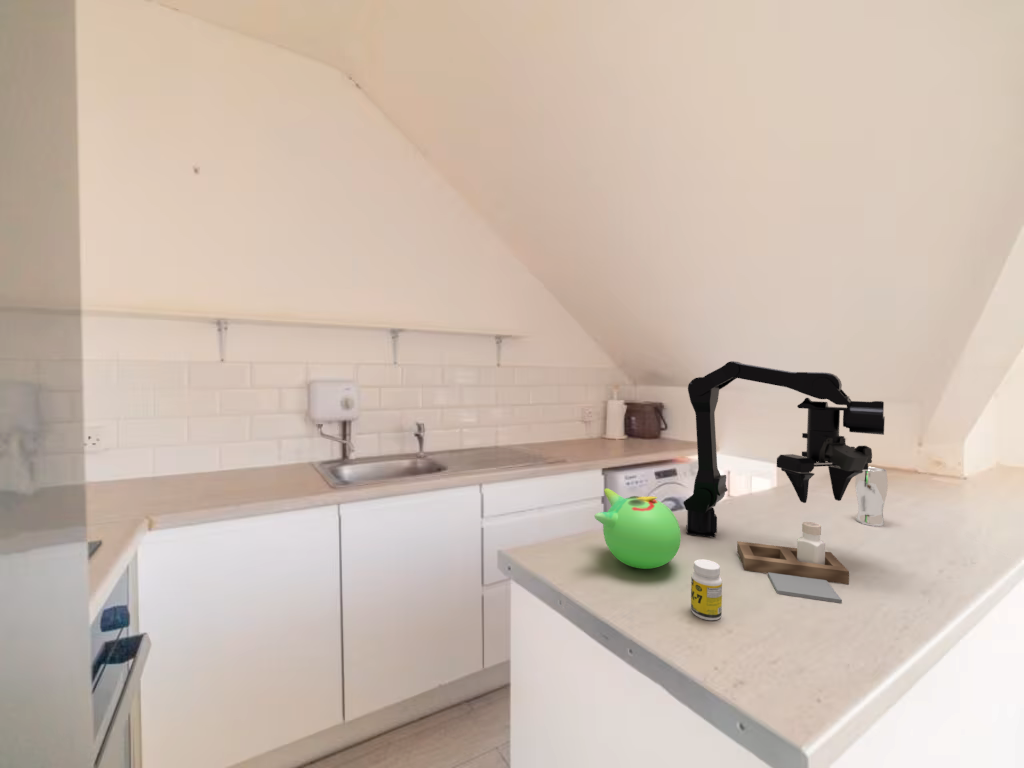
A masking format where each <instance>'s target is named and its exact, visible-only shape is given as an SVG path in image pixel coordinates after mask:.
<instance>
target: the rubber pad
mask: <svg viewBox="0 0 1024 768" xmlns="http://www.w3.org/2000/svg"><path fill="white" fill-rule="evenodd" d="M767 577H768V578H769V581H770V582H771V584H772V586H773V588H774V590H775V592H776V593H777V595H778V594H779V595H783V596H789V597H790V596H791V597H797V598H804V599H811V600H819V601H825V602H830V603H831V602H832V603H839V604H842V603H843V599H842V598H841V596H839V594H838V593H837V592H836V591H835V589H834V588H833V587H832V586H831V584H830V582H828V581H827V580H821V579H813V578H806V577H799V576H791V575H784V574H777V573H769V572H768V573H767Z"/></svg>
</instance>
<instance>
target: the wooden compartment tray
mask: <svg viewBox="0 0 1024 768" xmlns="http://www.w3.org/2000/svg"><path fill="white" fill-rule="evenodd" d="M736 543H737V549H736V553H737V555H738V557H739V561H740V562H741V565H742V567H743V570H744V571H747V572H748V571H749V572H756V573H761V574H762V573H763V574H768V572H769V573H777V574H784V575H791V576H799V577H806V578H813V579H821V580H827V582H828V583H837V584H843V585H849V584H850V571H849V570H848V568H847V567H846V566H845V565H844V564H843V563H842V562H841V561H840V560H839V559H838V558H837V557H836V556H835V555H834V554H833V553H832V552H831V551H825V565H823V564H815V563H807V562H799V561H798V560H797V547H791V546H790V547H789V546H788V547H787V546H780V545H773V544H763V543H756V542H755V543H754V542H746V541H739V540H738V541H737V542H736Z"/></svg>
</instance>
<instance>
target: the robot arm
mask: <svg viewBox="0 0 1024 768" xmlns="http://www.w3.org/2000/svg"><path fill="white" fill-rule="evenodd" d="M736 379H741V380H744V381H745V380H746V381H751V382H757V383H762V384H767V385H773V386H779V387H783V388H787V389H790V390H794V391H796V392H798V393H801V394H804V395H806V396H809V397H812V398H815V399H818V400H828V401H829V402H832V403H833V404H834V405H837V406H829V403H828V401H817V400H815V401H814V400H812V399H810V398H809V397H805V398H804V400H803V401H802V402H801V403H799V404H798V405H797V408H798V409H807V425H806V426H807V428H806V429H807V430H806V432H802V433H801V435H802V438H803V439H806V451H805V450H804V451H803V450H802V451H801V455H799V454H793V453H792V454H791V453H790V454H789V453H788V454H787V453H786V454H779V456H777V457H776V468H780V470H781V471H782V472H784V473H785V474H786V476H787V478H788V479H789V482H790V483H791V484H792V487H793V488H794V491H795V493H796V495H797V497H798V499H799V501H800V502H801V503H802V504H806V503H807V501H808V494H809V493H808V492H809V483H810V479H811V478H813V476H815V473H814V472H813V471H814V469H815V467H817V468H818V467H827V468H828V472H829V477H830V478H829V479H830V484H831V489H832V494H833V498H834V500H836V501H838V502H839V501H842V499H843V496H844V494H845V492H846V490H847V488H848V486H849V484H850V482H851V480H852V479H853V478H854V477H855V476H856V475H858V474H860V473H862V472H863V471H862V470H868V467H869V464H872V462H873V460H872V458H873V451H872V448H871V447H870V446H868V445H858V446H856V447H855V446H850V445H848V444H846V438H845V435H840V419H841V417H840V416H841V411H843V412H842V413H843V415H842V416H843V417H842V427H843V428H845V429H849V433H855V434H856V433H858V434H869V435H871V434H872V435H881V436H882V435H885V417H886V416H884V415H885V414H884V409H885V407H884V406H885V402H884V401H883V400H872V401H862V400H861V401H860V400H859V401H858V400H852V399H851V398H850V396H848V395H847V394H846V392H844V390H843V389H842V386H843V385H842V381H841V379H840V378H839V377H838V376H837V375H835V374H834V373H831V372H822V371H821V372H819V371H818V372H812V371H811V372H809V371H805V372H804V371H790V370H783V369H778V368H777V369H775V368H770V367H765V366H758V365H752V364H745V363H742V362H739V361H734V360H733V361H732V360H731V361H728V362H726V363H725V364H724V365H722V366H721V367H719V368H717V369H715V370H713V371H712V372H709V373H708V374H705V375H704V376H699V377H695V378H693V379H691V381H690V382H688V385H687V392H688V398H689V400H690V404H691V406H692V408H693V410H694V413H695V429H696V443H697V444H696V446H697V448H696V449H697V465H698V466H697V467H698V469H697V472H696V476H695V478H694V479H695V480H694V483H693V491H692V492H693V493H692V495H691V496H689V497H688V498H686V499H685V500H684V501H683V505H684V508H685V510H686V514H687V515H686V525H685V526H686V527H685V528H686V533H687V535H690V536H691V535H692V536H699V537H709V538H716V534H717V532H718V530H717V529H718V516H717V514H716V512H715V509H714V507H716V505H717V503H719V502H720V501H721V500H722V499H723V498H724V497H725V495H726V492H728V488H727V475H726V474H721V473H720V471H719V469H718V459H717V455H718V454H717V439H716V423H715V422H716V420H715V418H716V417H715V413H716V408H717V405H718V401H719V396H720V395H719V394H720V390H721V389H723V388H725V387H727V386H728V385H729V384H731V383H732V382H734V381H735V380H736ZM843 406H846V407H843Z"/></svg>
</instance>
